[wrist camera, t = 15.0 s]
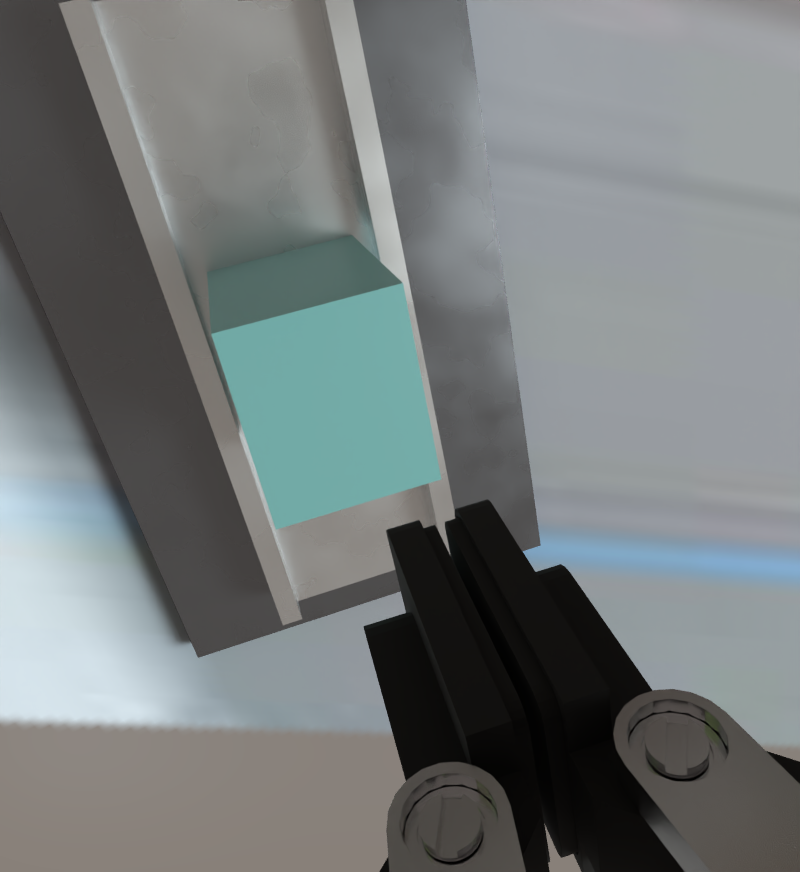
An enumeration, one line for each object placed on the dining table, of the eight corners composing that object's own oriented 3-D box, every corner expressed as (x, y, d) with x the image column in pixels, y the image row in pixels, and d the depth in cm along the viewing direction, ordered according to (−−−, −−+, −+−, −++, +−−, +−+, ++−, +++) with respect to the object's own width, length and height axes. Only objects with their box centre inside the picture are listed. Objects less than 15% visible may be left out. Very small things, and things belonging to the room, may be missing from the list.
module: (205, 272, 25) (209, 334, 18) (353, 234, 25) (404, 282, 19) (256, 430, 27) (274, 530, 21) (388, 392, 28) (442, 478, 22)
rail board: (-100, -36, 21) (-145, -55, 18) (436, -140, 23) (469, -172, 20) (197, 642, 33) (198, 694, 30) (531, 533, 35) (561, 572, 32)
